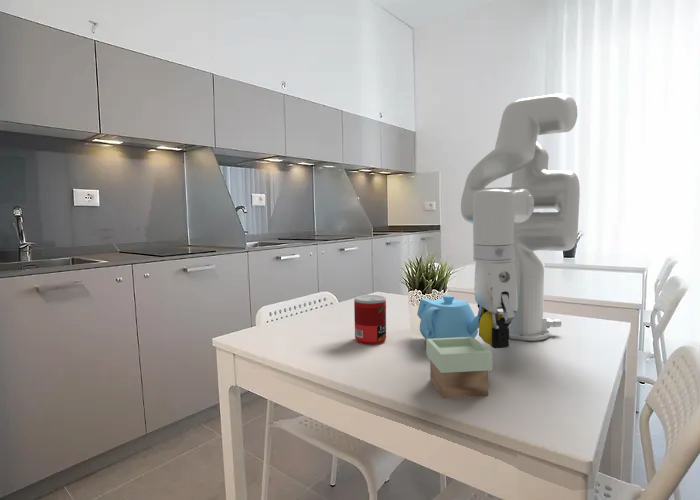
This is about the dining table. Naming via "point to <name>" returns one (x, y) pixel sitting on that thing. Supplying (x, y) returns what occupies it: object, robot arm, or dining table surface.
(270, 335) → the dining table surface
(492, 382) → the dining table surface
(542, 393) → the dining table surface
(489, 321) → the lemon
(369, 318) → the canned food
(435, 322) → the teapot
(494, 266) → the robot arm
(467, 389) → the walnut block
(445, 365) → the sage top block
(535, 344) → the dining table surface
